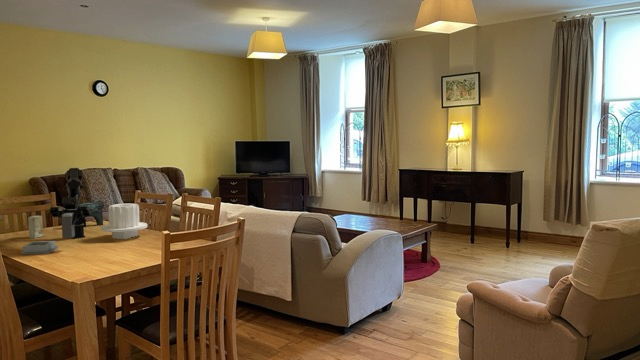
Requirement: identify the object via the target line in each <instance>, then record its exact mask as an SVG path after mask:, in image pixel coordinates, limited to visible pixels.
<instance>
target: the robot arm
mask: <svg viewBox="0 0 640 360" xmlns="http://www.w3.org/2000/svg"><path fill="white" fill-rule="evenodd" d="M66 180H67V183H65V189H66V191H67V193H68V196H67V197H62V200H61V204H62V205H63V208H62V207H61V208H60V207H59V206H50V207H49V210H48V211H49V213H50V216H51V217H52V218H58V219H60V223H61V224H60V225H61V226H62V220H61V217H62V214H65V213H73V215H74V217H73V220H72V225H74V228H75V236H74V237H72V238H71V239H74V240H75V239H80V238H86V236H85V232H84V231H85V230H84V228H85V227H87V219H86V217H85V218H84V217H83V215H84V216H90V215H91V210H90V208H89V207H88V206H81V207H80V204H81V203H80V202H81V201H80V200H81V197H82V193H81V192H82V190H83V189H84V184H83V183H82V181H83V170H81V169H79V167H70V168H68V170H67V171H66Z"/></svg>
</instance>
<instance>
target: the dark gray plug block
mask: <svg viewBox="0 0 640 360" xmlns="http://www.w3.org/2000/svg"><path fill="white" fill-rule="evenodd" d="M73 217H74V215H73V213H65V214H62V217H61V219H60V221H61V220H62V225H61V233H62V234H61V235H62V239H73V238H72V237H74V236H75V228H74V225H72V220H73Z"/></svg>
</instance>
